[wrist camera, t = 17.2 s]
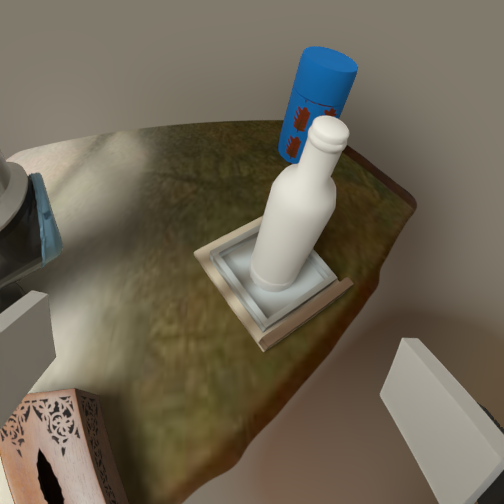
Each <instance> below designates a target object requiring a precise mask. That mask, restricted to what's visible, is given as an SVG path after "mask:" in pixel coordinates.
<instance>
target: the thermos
mask: <svg viewBox="0 0 504 504" xmlns="http://www.w3.org/2000/svg"><path fill="white" fill-rule="evenodd" d="M357 69H358V66H357V64H356V63H355V62H354V61H353V60H352V59H351V58H349V57H348V56H346V55H344V54H342V53H340V52H338V51H335V50H332V49H329V48H324V47H308V48H306V49H305V50H304V51H303V54H302V56H301V59H300V62H299V66H298V70H297V73H296V78H295V81H294V85H293V88H292V92H291V96H290V100H289V103H288V107H287V111H286V115H285V118H284V122H283V126H282V130H281V134H280V139H279V144H278V151H279V153H280V155H281V156H282V157H283V158H284V159H285V160H286V161H288V162H289V163H291V164H298V163H299V161H300V158H301V155H302V153H303V150H304V147H305V144H306V141H307V138H308V130H309V128H310V127H311V126H312V123H313V120H314V119H315V118H316V117H319V116H332V117H335V118H337V119H339V117H340V115H341V112H342V110H343V107H344V105H345V102H346V100H347V97H348V95H349V92H350V90H351V87H352V85H353V82H354V80H355V77H356V74H357Z"/></svg>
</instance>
